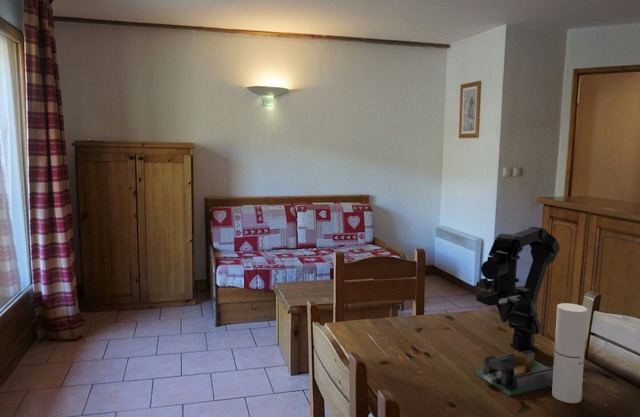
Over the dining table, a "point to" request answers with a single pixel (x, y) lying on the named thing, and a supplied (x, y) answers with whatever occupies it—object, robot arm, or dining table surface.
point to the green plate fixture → (517, 383)
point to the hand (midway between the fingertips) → (504, 321)
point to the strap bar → (520, 367)
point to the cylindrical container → (569, 352)
